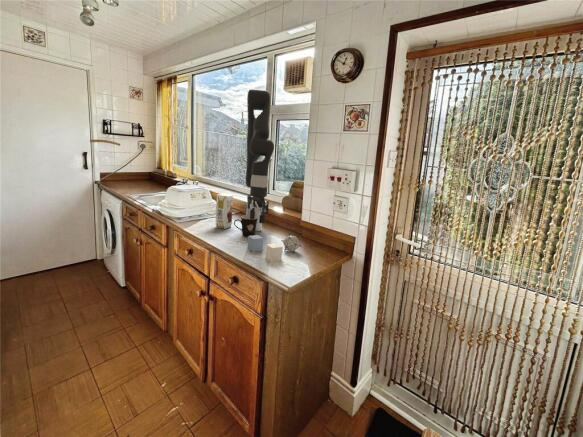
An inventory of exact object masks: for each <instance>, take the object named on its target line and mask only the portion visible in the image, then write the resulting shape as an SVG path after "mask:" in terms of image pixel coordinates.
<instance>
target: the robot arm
mask: <svg viewBox="0 0 583 437" xmlns="http://www.w3.org/2000/svg"><path fill="white" fill-rule="evenodd" d="M246 100H247V134H246V173H245V186H246V187H247V188H249V189H250V190H249V194H247V197H246V212H245V216H250V219H254V218H255V217H258V219H257V224H256V230H255V232H260V231H262V227H263V226H262V225H263V224H264V223H265V218H266V215H269V206H270V205H269V204H270V203H269V200H265V198H266V197H267V196H268V187H269V186H268V185H269V184H268V183H269V177H268V176H269V168H270V167H269V166H270V162H271V158H272V156H273V153H274V150H275V144H274V142H273V141H272V140H271V139H269V137H270V126H269V125H270V124H269V123H270V115H271V113H270V112H271V103H272V102H271V100H272V99H271V93H270V92H269V91H268V90H265V89H254V88H253V89H252V88H251V89H249V90H248V91H247V98H246ZM254 111H261V112H260V113H259V114H258V116H256V115H255V112H254ZM261 156H262V157H264V158H263V159H262V160H259V159H260V157H261Z"/></svg>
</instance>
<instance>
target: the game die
mask: <svg viewBox="0 0 583 437" xmlns="http://www.w3.org/2000/svg"><path fill="white" fill-rule="evenodd" d="M280 242H282V243H283V246H284V251H285V252H286V251H289V252H292V253H293V254H295V251H296V250H298V248H299V247H302V245H300V242H299V235H297V236H295V235H291V234H290V233H288V236H287V237H285V238H284V239H283V240H281V241H280Z"/></svg>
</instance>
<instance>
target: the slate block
mask: <svg viewBox="0 0 583 437" xmlns="http://www.w3.org/2000/svg"><path fill="white" fill-rule="evenodd" d="M263 246H264V237H262V236H261V235H258V234H255V235H253V236H248V237H247V249H248V250H250V251H251V252H259V251H263V249H264V248H263Z"/></svg>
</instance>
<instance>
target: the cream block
mask: <svg viewBox="0 0 583 437" xmlns="http://www.w3.org/2000/svg"><path fill="white" fill-rule="evenodd" d="M282 258H283V246H282V245H280V244H278V243H270V244H269V243H268V244H266V245H265V259H266V260H268V261H270V262H272V263H273V262H277V261H282Z"/></svg>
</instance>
